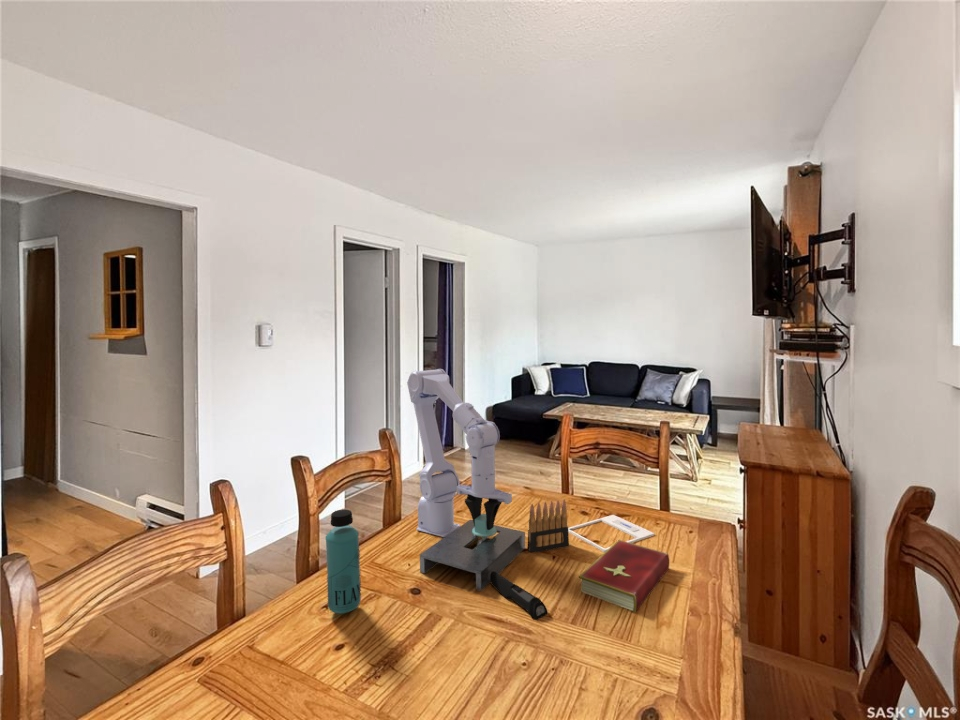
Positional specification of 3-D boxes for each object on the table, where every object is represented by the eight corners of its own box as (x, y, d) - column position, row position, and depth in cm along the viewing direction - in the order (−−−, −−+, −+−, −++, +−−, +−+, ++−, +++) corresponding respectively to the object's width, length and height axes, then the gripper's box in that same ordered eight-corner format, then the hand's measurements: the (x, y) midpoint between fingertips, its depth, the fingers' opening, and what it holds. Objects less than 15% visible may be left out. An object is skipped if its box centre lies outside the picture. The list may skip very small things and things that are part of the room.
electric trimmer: (499, 581, 104) (499, 567, 104) (549, 615, 91) (548, 599, 91) (486, 587, 102) (485, 573, 101) (534, 622, 89) (534, 606, 89)
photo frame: (654, 532, 125) (604, 549, 115) (654, 536, 125) (604, 553, 116) (613, 514, 137) (565, 528, 128) (613, 517, 137) (565, 532, 128)
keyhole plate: (420, 572, 107) (419, 554, 107) (470, 534, 126) (470, 519, 126) (481, 591, 99) (480, 572, 99) (525, 548, 118) (524, 532, 118)
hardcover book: (669, 570, 107) (669, 552, 107) (635, 615, 91) (635, 594, 91) (618, 555, 115) (618, 538, 115) (578, 594, 98) (578, 574, 98)
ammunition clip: (565, 543, 121) (565, 497, 120) (569, 546, 119) (569, 499, 118) (527, 549, 117) (527, 502, 116) (530, 553, 116) (530, 505, 115)
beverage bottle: (330, 625, 88) (327, 521, 87) (324, 607, 94) (321, 509, 93) (365, 615, 91) (362, 514, 90) (357, 598, 97) (354, 503, 96)
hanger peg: (467, 546, 115) (467, 519, 115) (480, 536, 120) (479, 510, 120) (489, 552, 112) (488, 524, 112) (500, 542, 117) (500, 515, 117)
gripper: (517, 472, 115) (517, 526, 116) (466, 464, 122) (467, 515, 123) (504, 480, 109) (504, 537, 110) (451, 471, 116) (452, 525, 117)
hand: (483, 526), depth 116 cm, fingers closed on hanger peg, 3 cm apart
